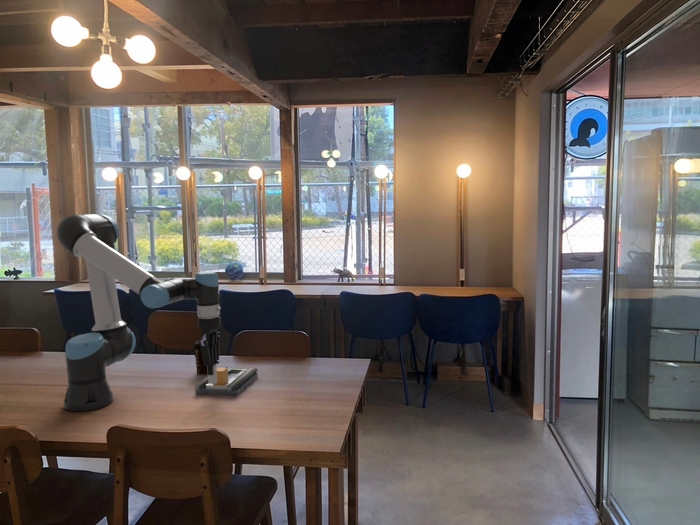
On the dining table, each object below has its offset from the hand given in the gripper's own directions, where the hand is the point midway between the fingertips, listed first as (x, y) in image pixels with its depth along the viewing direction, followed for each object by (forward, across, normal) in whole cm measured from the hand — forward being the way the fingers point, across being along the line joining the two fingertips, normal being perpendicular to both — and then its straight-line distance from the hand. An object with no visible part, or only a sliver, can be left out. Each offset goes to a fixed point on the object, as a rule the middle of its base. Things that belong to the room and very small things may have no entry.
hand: (212, 382), depth 186 cm
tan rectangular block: (+3, +7, 0) cm, 8 cm away
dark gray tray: (+3, +13, 0) cm, 13 cm away
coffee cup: (+5, +26, +15) cm, 30 cm away
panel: (+5, +13, 0) cm, 14 cm away
